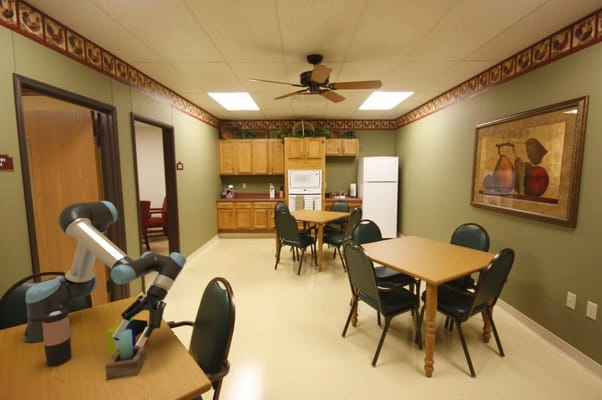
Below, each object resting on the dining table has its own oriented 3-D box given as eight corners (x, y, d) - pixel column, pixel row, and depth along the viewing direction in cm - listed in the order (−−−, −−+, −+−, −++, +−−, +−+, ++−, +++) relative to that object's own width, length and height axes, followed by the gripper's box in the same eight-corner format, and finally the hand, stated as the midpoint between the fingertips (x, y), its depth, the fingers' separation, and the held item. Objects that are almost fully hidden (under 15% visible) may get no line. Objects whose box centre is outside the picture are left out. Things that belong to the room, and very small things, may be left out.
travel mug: (42, 370, 100) (37, 319, 98) (50, 358, 107) (45, 310, 105) (68, 363, 104) (64, 314, 102) (74, 352, 110) (70, 305, 109)
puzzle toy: (129, 357, 107) (128, 333, 106) (108, 354, 109) (107, 331, 108) (148, 342, 116) (147, 320, 116) (129, 340, 118) (127, 318, 118)
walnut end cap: (118, 361, 105) (117, 348, 104) (146, 356, 107) (146, 345, 106) (106, 379, 95) (105, 366, 94) (137, 374, 97) (136, 361, 97)
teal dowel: (123, 359, 102) (121, 329, 101) (135, 358, 103) (133, 328, 102) (119, 367, 98) (116, 335, 97) (131, 365, 99) (129, 334, 98)
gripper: (187, 296, 110) (156, 353, 97) (146, 286, 120) (113, 336, 108) (175, 289, 104) (141, 347, 92) (134, 279, 115) (98, 331, 102)
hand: (126, 341), depth 100 cm, fingers open, 13 cm apart
